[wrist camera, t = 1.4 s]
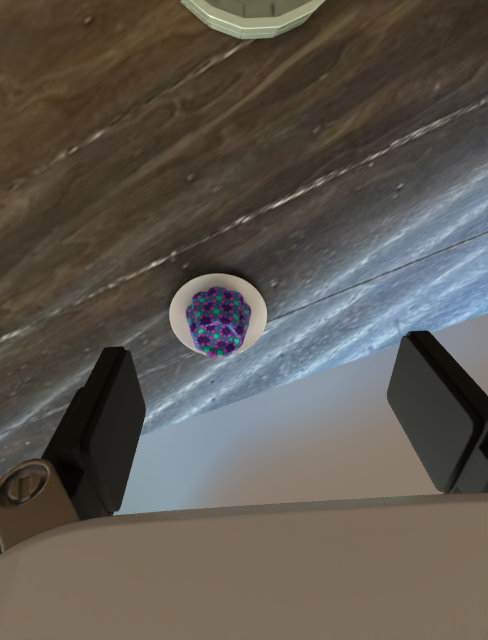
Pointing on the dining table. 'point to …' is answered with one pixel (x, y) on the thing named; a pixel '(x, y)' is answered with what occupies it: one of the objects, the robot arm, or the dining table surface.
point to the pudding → (218, 314)
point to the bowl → (253, 15)
